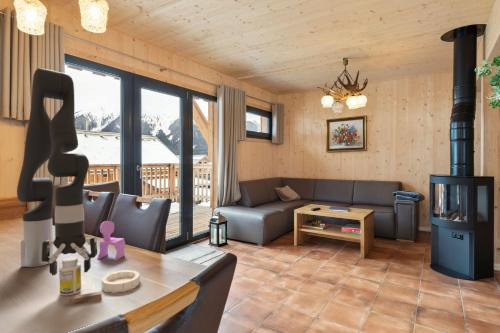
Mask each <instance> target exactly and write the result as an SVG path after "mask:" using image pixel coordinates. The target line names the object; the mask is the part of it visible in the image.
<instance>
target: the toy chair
mask: <svg viewBox="0 0 500 333" xmlns="http://www.w3.org/2000/svg"><path fill="white" fill-rule="evenodd" d="M99 231H100V233H101V234H102V236H103V240H101V241H99V244H98V245H99V246H98V247H99V252H98V254H97V258H96V260H100V259H101V258H103V257H106V256H108V255H109V246H111V245H112V246H114V248H115V251H116V255H115V258H114V260H113V261H114V262H116V261H118V260H120V259H122V258H123V256H124V257H125V255H126V254H125V253H126V252H125V247H126V241H125V238H124V237H123V238H122V237H111V234H113V233H114V231H115V223H114V222H113V221H110V220H104V221H103V222H102V223H100V226H99ZM121 257H122V258H121Z"/></svg>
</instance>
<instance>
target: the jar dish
mask: <svg viewBox="0 0 500 333" xmlns="http://www.w3.org/2000/svg"><path fill="white" fill-rule="evenodd" d="M140 281H141V280H140V272H138V271H137V270H129V269H127V270H126V269H125V270H118V271H114V272H111V273H108V274H106V275H105V276H103V278H102V279H101V290H102V291H104V292H106V293H111V294H112V293H113V294H114V293H115V294H116V293H122V292H126V291H130V290H133V289H134V288H136V287H138V286H139V285H140Z"/></svg>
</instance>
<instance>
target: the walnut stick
mask: <svg viewBox="0 0 500 333" xmlns="http://www.w3.org/2000/svg"><path fill="white" fill-rule="evenodd" d="M102 291H103V290H101V291H95V292H89V293H83V294H77V295H70V296H69V298H68V306H75V305H81V304H87V303H91V302H97V301H101V300H102V299H103V298H102V297H103V296H102V295H103V294H102Z"/></svg>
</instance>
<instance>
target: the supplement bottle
mask: <svg viewBox="0 0 500 333" xmlns="http://www.w3.org/2000/svg"><path fill="white" fill-rule="evenodd" d="M78 261H79V258H78V257H76V256H68V257H66V258H63V259H62V261H61V266H60V267H59V268H58V270H59V271H58V272H59V273H58V275H59V276H58V277H59V294H60V295H61V296H67V297H68V296H74V295H75V294H78V293H79V292H80V291H81V290H82V274H81V273H82V271H81V270H82V266H81V263H80V262H78Z"/></svg>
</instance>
